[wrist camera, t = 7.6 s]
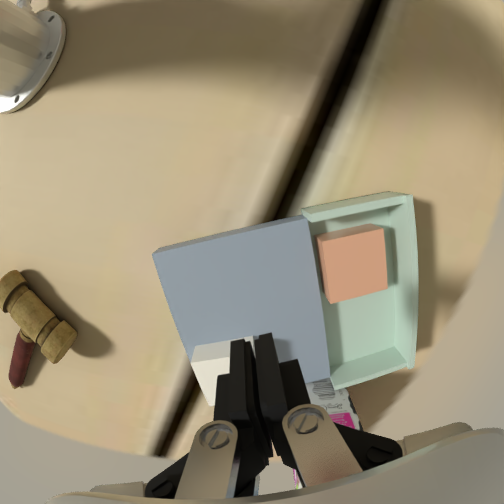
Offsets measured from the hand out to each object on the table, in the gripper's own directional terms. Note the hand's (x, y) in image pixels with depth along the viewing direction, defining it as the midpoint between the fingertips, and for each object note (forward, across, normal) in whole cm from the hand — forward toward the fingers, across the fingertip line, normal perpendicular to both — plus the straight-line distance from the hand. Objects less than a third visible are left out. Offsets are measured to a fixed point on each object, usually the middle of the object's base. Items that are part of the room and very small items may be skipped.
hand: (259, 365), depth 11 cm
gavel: (+14, +30, +5) cm, 33 cm away
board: (+13, +1, +4) cm, 14 cm away
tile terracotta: (+12, -8, +1) cm, 15 cm away
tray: (+13, -9, +4) cm, 16 cm away
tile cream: (+11, +4, +8) cm, 14 cm away
